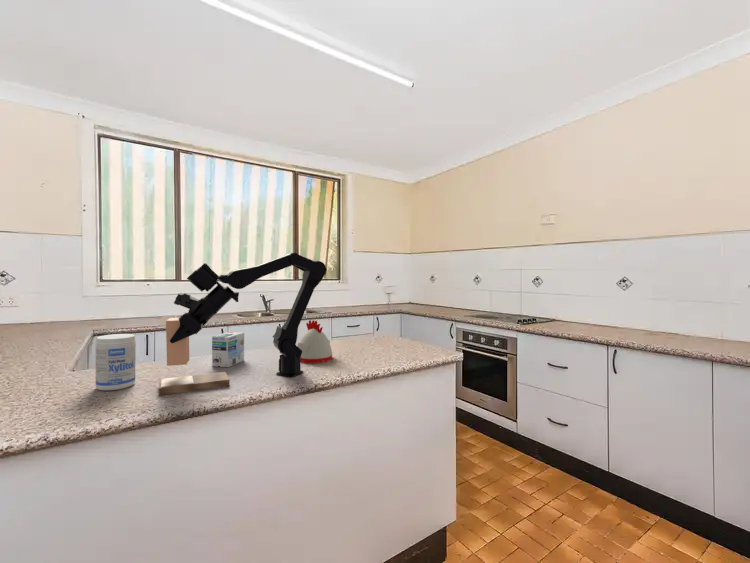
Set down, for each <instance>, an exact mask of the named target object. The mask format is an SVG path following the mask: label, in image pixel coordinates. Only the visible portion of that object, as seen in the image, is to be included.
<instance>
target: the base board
mask: <svg viewBox="0 0 750 563" xmlns="http://www.w3.org/2000/svg"><path fill="white" fill-rule="evenodd" d="M230 380H231V379H230V378H229V375H228V374H227V373H226V371H220V372H212V373H204V374H195V375H184V376H175V377H167V378H161V379H159V384H158V396H166V395H167V396H168V395H174V394H181V393H187V392H196V390H197V391H202V390H203V389H204V390H211V389H210V388H212V389H218V388H217V387H219V388H225V387H224V386H227V387H230V385H231V384H230ZM204 390H203V391H204Z"/></svg>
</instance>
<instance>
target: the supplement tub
mask: <svg viewBox="0 0 750 563" xmlns="http://www.w3.org/2000/svg"><path fill="white" fill-rule="evenodd" d="M136 343H137V342H136V335H135V334H132V333H114V334H105V335H100V336H97V337H96V341H95V388H96V389H97V390H100V391H119V390H123V389H127V388H129V387H131V386H133V385H134V384H135V383H136V365H137V364H136V361H137V358H136V357H137V356H136V354H137V352H136V351H137V348H136V347H137V345H136Z"/></svg>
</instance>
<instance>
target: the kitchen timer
mask: <svg viewBox="0 0 750 563" xmlns="http://www.w3.org/2000/svg"><path fill="white" fill-rule="evenodd" d="M305 324H306V328H307V331H306V332H305V333H304V334H303V335H302V336H301V338H300V340H299V342H298V343H297V347H299V348H300V349H301V350H302V354H301V363H305V364H322V363H327V362H330V361H331V359H332V360H333V351H332V347H331V341H330V339H328V336H326V334H325V333H324V332H323V329H324V327H323V326H322V327H321V323H318V320H315V319H314V320H313V319H312V320H308V322H306V323H305Z"/></svg>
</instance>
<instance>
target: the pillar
mask: <svg viewBox="0 0 750 563" xmlns="http://www.w3.org/2000/svg"><path fill="white" fill-rule="evenodd" d="M179 318H180V317H169V318H168V319H166V320H165V334H166V336H165V339H166V341H165V342H166V366H167V367H168V366H184V365H185V366H186V365H187V364H188V363H189V361H190V336H189V337H186V338H184V339H182V340H179V341H177V342H175V343H171V342H170V339H171V338H172V337H173V335H174V334H175V332H176V331H177V330H178V328H179V327H180V321H179Z"/></svg>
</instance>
